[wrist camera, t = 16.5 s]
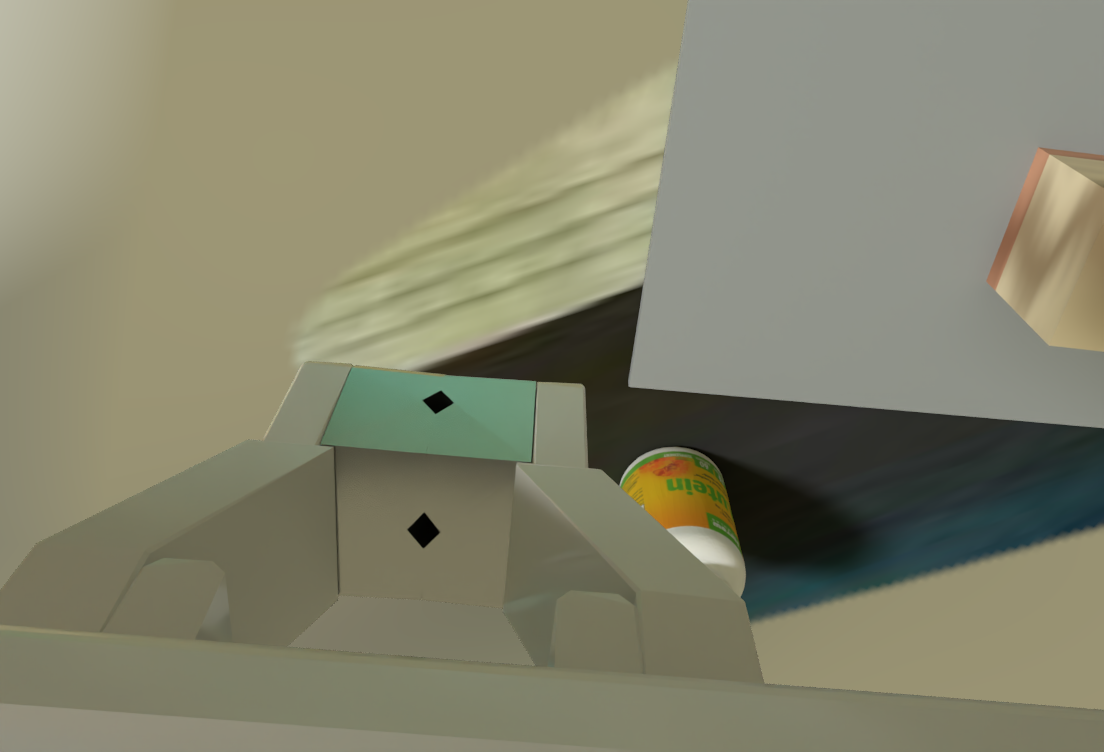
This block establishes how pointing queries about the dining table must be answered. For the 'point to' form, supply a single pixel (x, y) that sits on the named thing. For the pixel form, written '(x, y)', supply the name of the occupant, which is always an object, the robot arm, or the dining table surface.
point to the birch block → (1057, 250)
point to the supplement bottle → (690, 507)
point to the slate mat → (865, 204)
